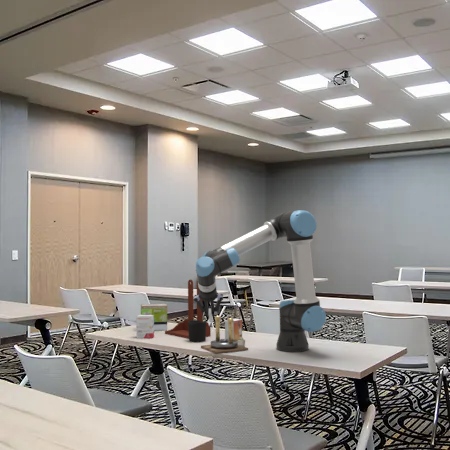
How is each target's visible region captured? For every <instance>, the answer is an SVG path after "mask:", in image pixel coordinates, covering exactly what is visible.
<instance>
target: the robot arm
mask: <svg viewBox="0 0 450 450" xmlns="http://www.w3.org/2000/svg"><path fill="white" fill-rule="evenodd" d="M316 229H317V221H316V218H315V216H314V215H313V214H312V213H311V212H310V211H307V210H303V209H301V210H299V209H298V210H291V211H285V212H282V213H279V214H278V215H276V216H274V217H272V218H270V219H268V220H266V221H264V223H263V225H261V226H260V227H257V228H255V229H253V230H251V231H249V232H247V233H245V234H244V235H243V234H242V236H241V235H240V236H238V237H237V238H235V239H234V240H231V241H230V242H227V243H225V244H223V245H221V246H220V247H219V246H218V247H217V248H215V249H213V250H209V251H206V252H204V254H203V255H202V256H201V257H199V258H197V260H196V262H195V271H196V272H195V273H196V277H197V281H198V287H199V295H197V294H193V302H196V305H197V304H198V306H199V308H200V310H201V311H202V313H205V316H206V317H208V319H209V321H208V323H214V318H213V317H215V316H216V315H215V313H218V312H219V309H220V306H221V303H222V302H223V300H224V293H223V294H222V293H220V294H219V293H218V292H217V283H216V282H217V281H216V277H217V276H219V275H221V274H222V273H224V272H226V271H227V270H229V269H232V268H233V267H235V266H236V265H237V264H239V263H240V260H241V259H240V256H242V255H244V254H246V253H247V252H250V251H252V250H254V249H256V248H258V247H259V246H261V245H263V244H265V243H267V242H269V241H273V242H274V241H276V240H278V239H281V238H286V242H287V243H288V244H289V245H290V248H291V258H292V260H291V261H292V268H293V270H292V271H293V276H294V277H293V278H294V286H295V287H294V288H295V295H296V298H295V299H290V300H281V301H280V302H279V306H278V307H279V308H278V309H279V334H278V338H277V340H276V341H277V342H276V347H275V348H276V350H278V351H280V352H291V353H294V352H295V353H296V352H305V351H308V350H309V348H310V345H309V340H308V338H307V336H306V332H310V333H311V332H313V333H314V332H317V331H320V330H321V329H322V328H323V326H325V323H326V320H327V314H326V311H325V309H324V308H323V307H322V306H321V303H320V299H319V298H318V297H317V296H316V288H315V287H316V286H315V279H314V270H313V269H314V268H313V260H312V250H311V242H312V241H314V237H313V236H314V233H315V232H316ZM200 299H202V301H201V300H200ZM216 299H217V300H216ZM215 300H216V304H215V302H214V301H215ZM209 303H210V308H209Z"/></svg>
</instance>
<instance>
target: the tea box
mask: <svg viewBox="0 0 450 450" xmlns="http://www.w3.org/2000/svg"><path fill="white" fill-rule="evenodd" d="M140 315H154V332H155V331H157V332H159V331H161V332H162V331H163V332H165V331H168V304H166V303H141V304H140Z"/></svg>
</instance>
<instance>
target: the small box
mask: <svg viewBox="0 0 450 450" xmlns="http://www.w3.org/2000/svg"><path fill="white" fill-rule="evenodd" d="M232 319H233V320H234V321H233V339H236V341H238V340H239V338H241V337H242V338H243V319H241V318H232ZM224 339H228V340H229V329H228V319H225V320H224Z"/></svg>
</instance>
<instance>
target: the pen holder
mask: <svg viewBox="0 0 450 450" xmlns="http://www.w3.org/2000/svg"><path fill="white" fill-rule="evenodd" d="M206 322H207V321H206V320H205V321H203V322H201V321H199V320H197V319H194V320H191V321H188V333H189V339H188V341H189V342H191V343H202V342H205V341H206V340H207V337H206Z"/></svg>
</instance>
